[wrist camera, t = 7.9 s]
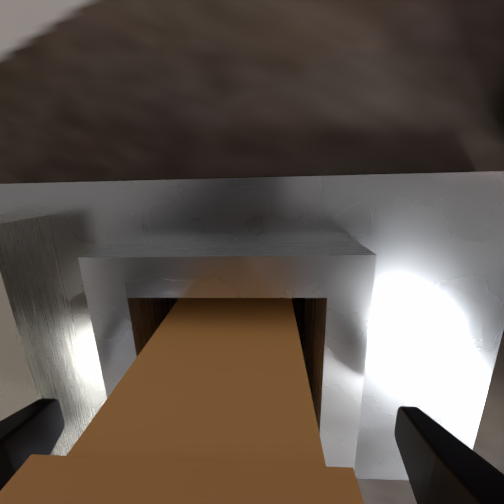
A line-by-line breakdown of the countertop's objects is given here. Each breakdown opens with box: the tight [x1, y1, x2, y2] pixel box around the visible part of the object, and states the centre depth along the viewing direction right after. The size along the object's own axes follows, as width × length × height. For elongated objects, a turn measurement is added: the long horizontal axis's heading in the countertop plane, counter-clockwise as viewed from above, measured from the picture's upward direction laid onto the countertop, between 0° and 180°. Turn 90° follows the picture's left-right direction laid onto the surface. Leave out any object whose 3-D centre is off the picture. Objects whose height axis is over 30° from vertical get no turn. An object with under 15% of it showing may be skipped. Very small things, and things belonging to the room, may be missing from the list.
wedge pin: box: [0, 298, 364, 504], centre depth 8 cm, size 5×5×9 cm
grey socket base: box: [0, 171, 504, 480], centre depth 10 cm, size 18×12×4 cm, turn 92°
